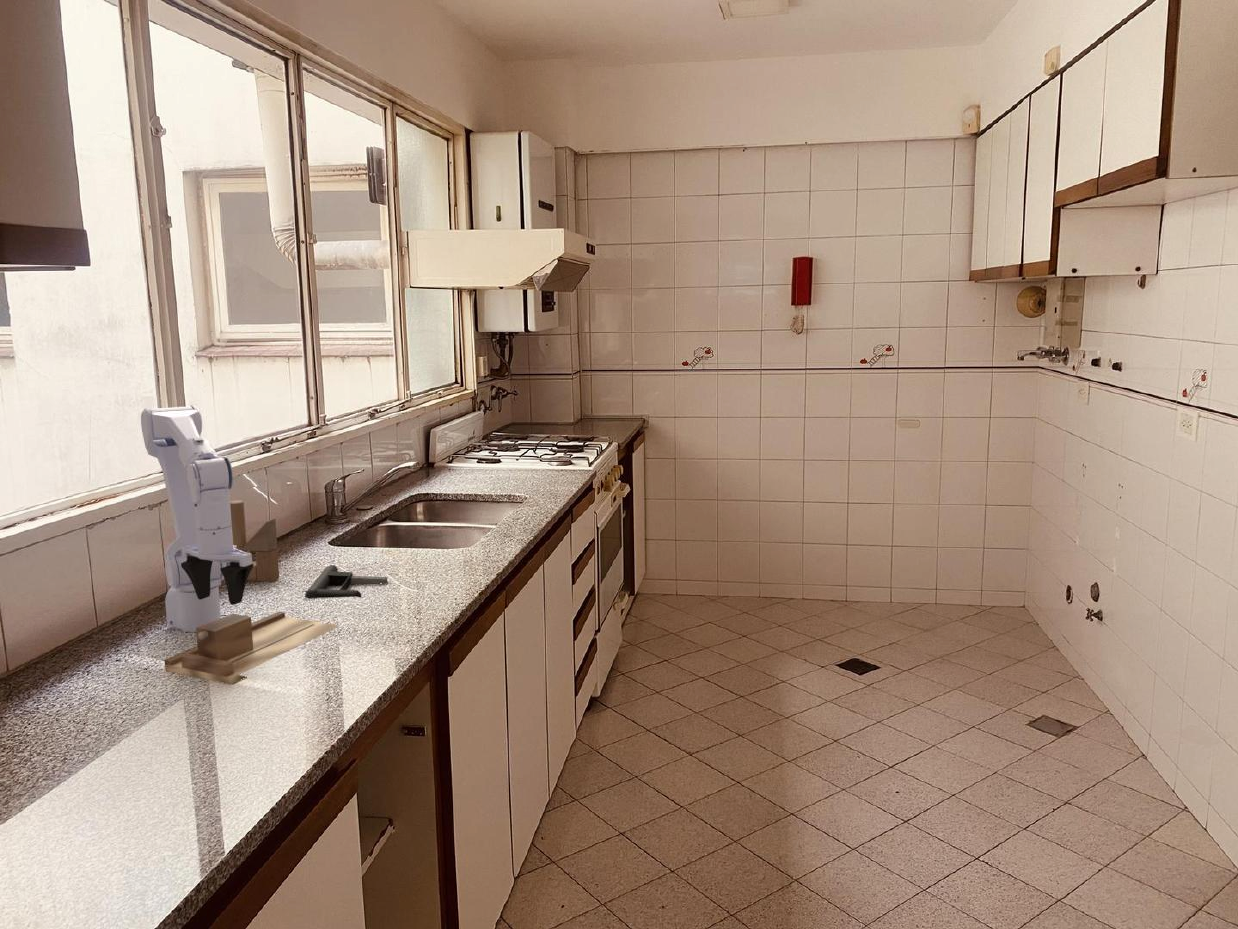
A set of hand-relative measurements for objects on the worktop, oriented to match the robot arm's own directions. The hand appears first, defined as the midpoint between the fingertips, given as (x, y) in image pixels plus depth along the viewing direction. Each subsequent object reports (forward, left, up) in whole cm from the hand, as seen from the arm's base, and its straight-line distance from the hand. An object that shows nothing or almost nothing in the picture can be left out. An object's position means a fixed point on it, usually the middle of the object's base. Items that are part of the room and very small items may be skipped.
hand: (219, 600), depth 163 cm
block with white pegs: (+4, -3, -9) cm, 10 cm away
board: (+4, +4, -10) cm, 11 cm away
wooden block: (-29, +37, -10) cm, 48 cm away
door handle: (-5, +40, -11) cm, 41 cm away
